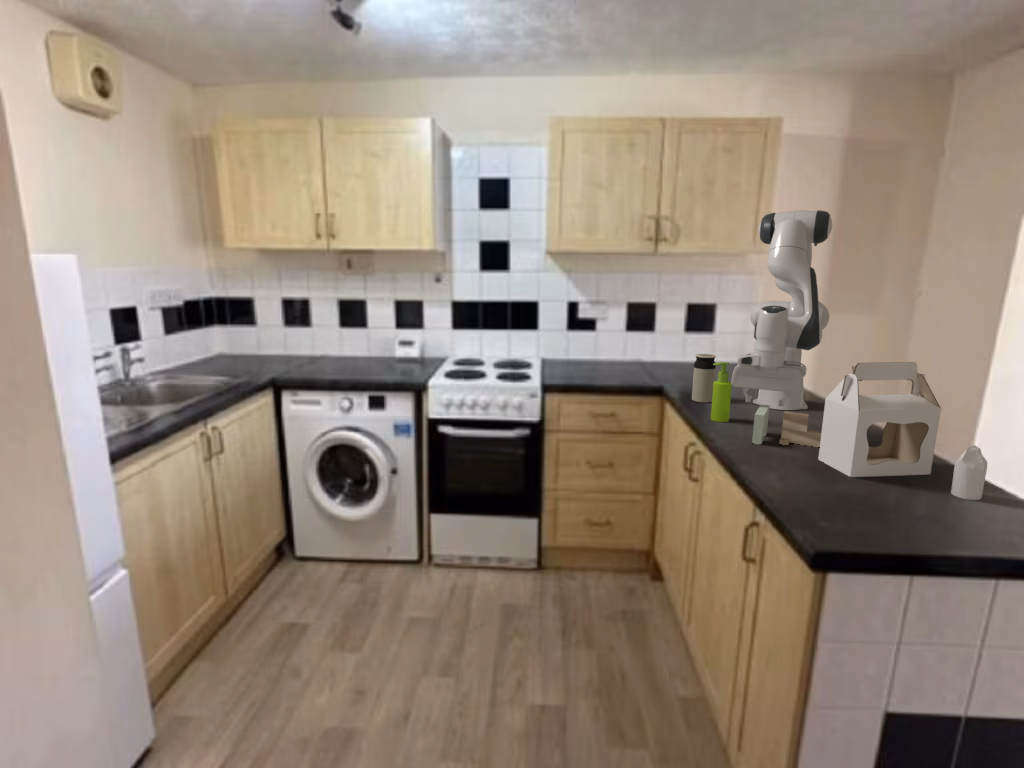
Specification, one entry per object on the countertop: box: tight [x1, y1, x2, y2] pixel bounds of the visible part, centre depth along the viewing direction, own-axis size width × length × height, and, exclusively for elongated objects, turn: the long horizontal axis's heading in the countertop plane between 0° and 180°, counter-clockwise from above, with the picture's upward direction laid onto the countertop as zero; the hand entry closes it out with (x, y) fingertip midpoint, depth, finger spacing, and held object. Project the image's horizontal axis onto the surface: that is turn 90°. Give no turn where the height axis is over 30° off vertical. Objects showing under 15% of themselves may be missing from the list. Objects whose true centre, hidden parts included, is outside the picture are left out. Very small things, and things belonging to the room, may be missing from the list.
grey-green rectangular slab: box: [751, 404, 771, 445], centre depth 172 cm, size 14×2×9 cm, turn 150°
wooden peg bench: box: [778, 410, 822, 448], centre depth 165 cm, size 8×18×9 cm, turn 60°
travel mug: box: [691, 353, 717, 404], centre depth 219 cm, size 8×8×18 cm
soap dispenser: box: [710, 361, 733, 423], centre depth 191 cm, size 6×7×20 cm
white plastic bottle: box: [950, 444, 988, 501], centre depth 129 cm, size 6×12×6 cm
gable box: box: [817, 361, 942, 478], centre depth 146 cm, size 22×13×28 cm, turn 95°
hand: (764, 403), depth 174 cm, fingers open, 8 cm apart
